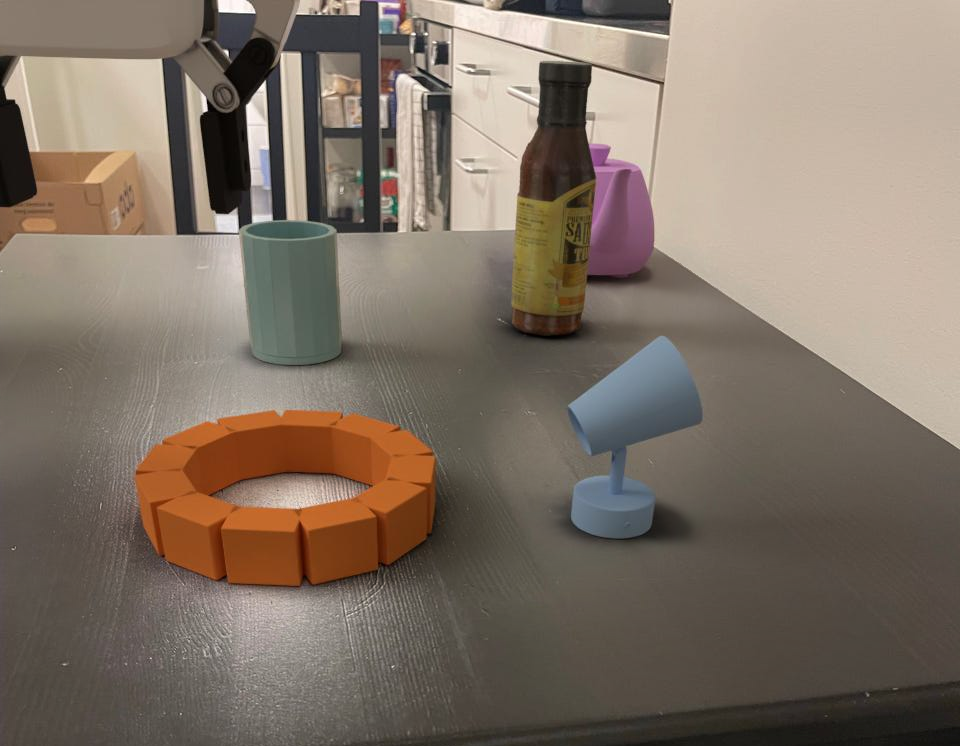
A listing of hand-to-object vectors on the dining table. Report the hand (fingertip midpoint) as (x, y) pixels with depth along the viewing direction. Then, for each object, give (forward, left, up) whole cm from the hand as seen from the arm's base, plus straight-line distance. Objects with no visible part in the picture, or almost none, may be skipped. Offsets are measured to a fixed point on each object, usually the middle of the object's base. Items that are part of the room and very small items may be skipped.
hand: (122, 205), depth 44 cm
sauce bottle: (+22, +38, -16) cm, 46 cm away
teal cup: (+2, +29, -16) cm, 33 cm away
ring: (+7, +1, -16) cm, 17 cm away
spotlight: (+25, +2, -16) cm, 29 cm away
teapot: (+27, +59, -16) cm, 66 cm away
